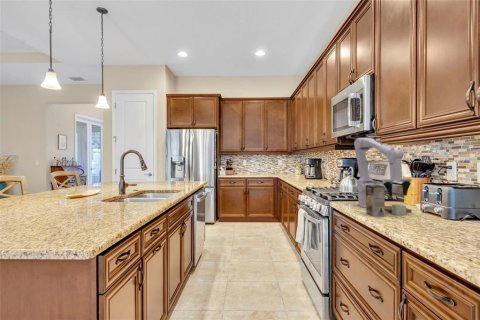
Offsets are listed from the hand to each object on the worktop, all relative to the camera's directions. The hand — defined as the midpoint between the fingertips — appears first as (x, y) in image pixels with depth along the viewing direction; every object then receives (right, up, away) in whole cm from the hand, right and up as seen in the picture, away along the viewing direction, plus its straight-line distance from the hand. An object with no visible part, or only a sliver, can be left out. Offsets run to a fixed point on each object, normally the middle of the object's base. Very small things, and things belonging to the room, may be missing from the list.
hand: (397, 195), depth 143 cm
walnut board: (+4, -10, +10) cm, 15 cm away
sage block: (+1, -10, 0) cm, 10 cm away
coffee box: (-12, -11, 0) cm, 16 cm away
